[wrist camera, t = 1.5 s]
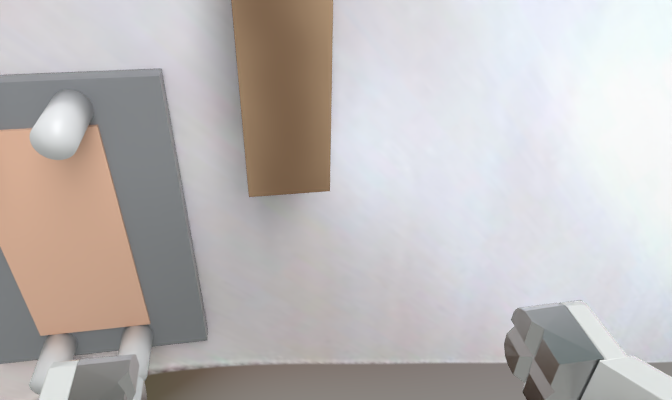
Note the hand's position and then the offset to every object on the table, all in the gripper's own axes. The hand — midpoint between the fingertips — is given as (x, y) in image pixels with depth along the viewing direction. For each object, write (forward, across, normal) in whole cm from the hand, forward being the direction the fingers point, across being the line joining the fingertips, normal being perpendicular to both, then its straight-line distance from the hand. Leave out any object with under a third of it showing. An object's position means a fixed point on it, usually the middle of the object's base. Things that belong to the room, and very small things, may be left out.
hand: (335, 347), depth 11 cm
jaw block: (+20, 0, 0) cm, 20 cm away
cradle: (+20, +12, +11) cm, 26 cm away
